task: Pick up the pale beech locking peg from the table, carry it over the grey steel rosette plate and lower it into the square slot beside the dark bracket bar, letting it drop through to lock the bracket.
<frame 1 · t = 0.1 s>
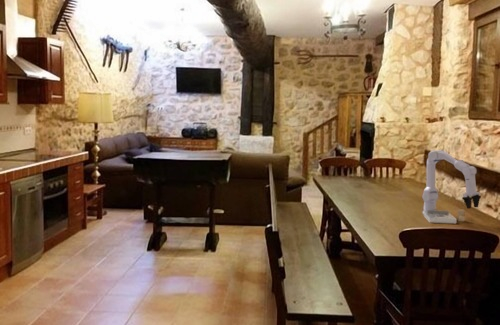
hand: (472, 207, 301), 10 cm above the table, tool pointing down, fingers open, 7 cm apart
peg: (460, 220, 310), on the table
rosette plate: (439, 219, 312), on the table
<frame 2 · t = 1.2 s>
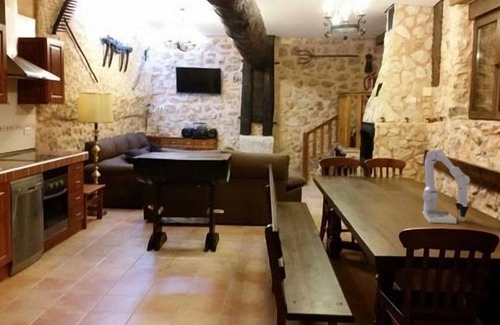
hand: (461, 215, 310), 3 cm above the table, tool pointing down, fingers open, 7 cm apart
nothing on the table moved.
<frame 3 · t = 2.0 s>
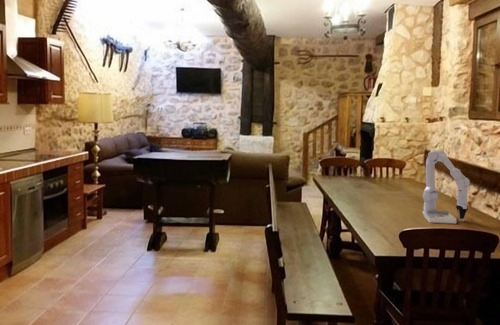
hand: (461, 217, 310), 2 cm above the table, tool pointing down, fingers closed on peg, 3 cm apart
peg: (460, 220, 310), on the table, touching gripper
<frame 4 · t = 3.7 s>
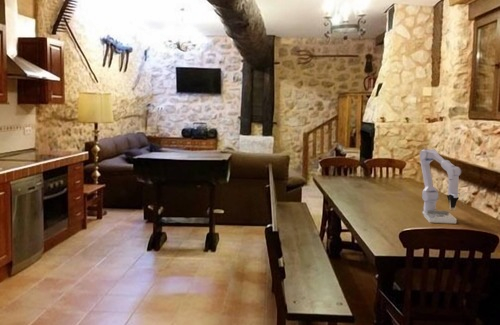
hand: (451, 207, 309), 9 cm above the table, tool pointing down, fingers closed on peg, 3 cm apart
peg: (452, 210, 309), point 7 cm above the table, touching gripper
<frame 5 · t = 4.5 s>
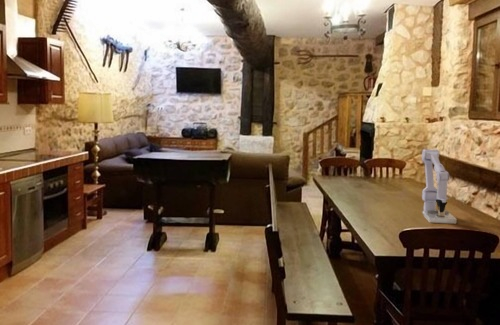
hand: (440, 211, 309), 6 cm above the table, tool pointing down, fingers closed on peg, 3 cm apart
peg: (441, 215, 310), point 4 cm above the table, touching gripper
when the fingers open (4 cm above the table, at t = 5.3 s): peg drops 2 cm, resting in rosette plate.
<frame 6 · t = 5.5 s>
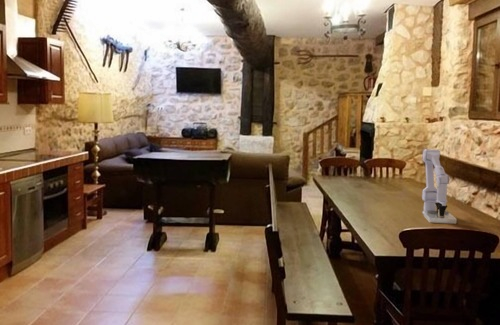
hand: (440, 214, 310), 4 cm above the table, tool pointing down, fingers open, 5 cm apart
peg: (441, 220, 310), resting in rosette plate
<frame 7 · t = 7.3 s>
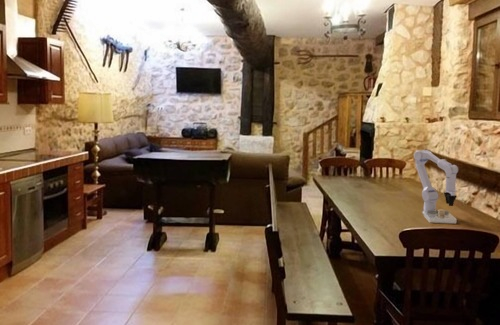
hand: (449, 204, 314), 9 cm above the table, tool pointing down, fingers open, 7 cm apart
nothing on the table moved.
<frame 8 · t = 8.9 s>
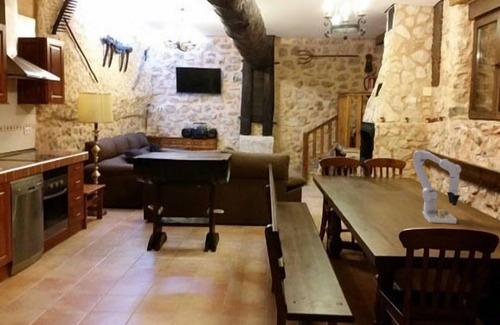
hand: (452, 204, 316), 9 cm above the table, tool pointing down, fingers open, 7 cm apart
nothing on the table moved.
at the end: peg 0.5 cm from the target spot on the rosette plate, point 0.0 cm above the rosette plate's base; peg tilted 0°; the gripper is holding nothing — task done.
